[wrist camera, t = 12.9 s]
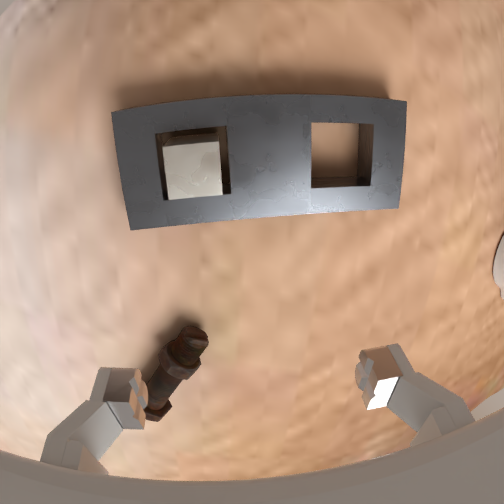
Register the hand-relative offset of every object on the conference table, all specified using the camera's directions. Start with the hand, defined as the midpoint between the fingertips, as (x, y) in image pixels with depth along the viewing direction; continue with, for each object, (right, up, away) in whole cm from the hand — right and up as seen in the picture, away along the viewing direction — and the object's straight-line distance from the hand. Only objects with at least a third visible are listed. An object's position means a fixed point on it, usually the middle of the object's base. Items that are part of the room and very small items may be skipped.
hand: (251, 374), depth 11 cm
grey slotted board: (+1, +13, +16) cm, 21 cm away
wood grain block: (-5, +12, +16) cm, 21 cm away
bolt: (-10, -9, +27) cm, 30 cm away
